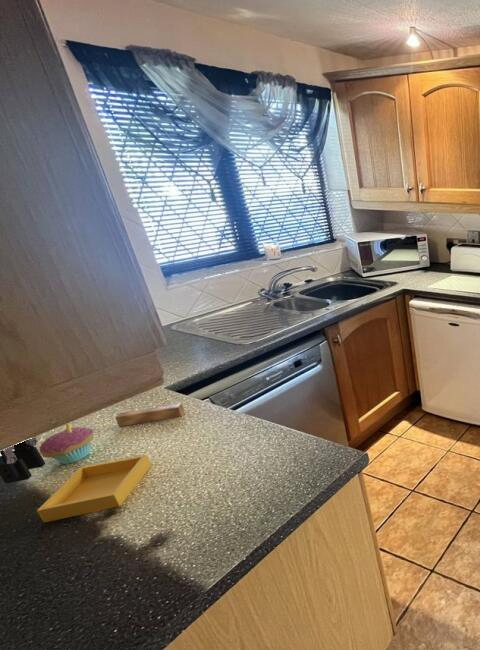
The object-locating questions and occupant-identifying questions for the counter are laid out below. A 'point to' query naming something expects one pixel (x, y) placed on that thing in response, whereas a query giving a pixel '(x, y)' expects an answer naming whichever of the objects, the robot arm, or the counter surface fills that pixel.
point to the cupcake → (68, 445)
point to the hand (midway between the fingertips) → (26, 473)
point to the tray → (95, 488)
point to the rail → (149, 414)
